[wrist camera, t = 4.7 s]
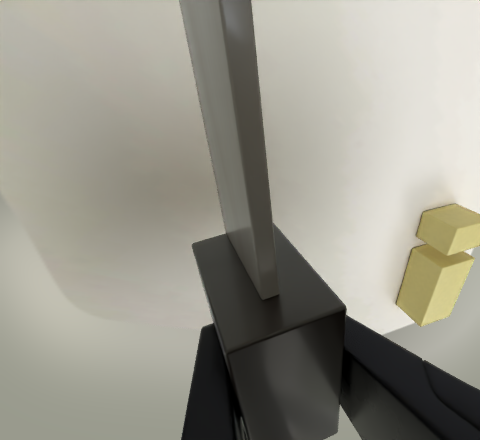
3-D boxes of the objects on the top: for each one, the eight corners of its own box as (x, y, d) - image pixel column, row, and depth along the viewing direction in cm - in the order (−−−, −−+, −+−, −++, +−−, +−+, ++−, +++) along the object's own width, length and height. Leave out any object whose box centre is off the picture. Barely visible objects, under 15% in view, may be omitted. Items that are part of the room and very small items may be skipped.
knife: (222, 353, 10) (257, 472, 7) (108, -48, 5) (57, -248, 2) (282, 330, 11) (338, 433, 8) (243, -60, 5) (389, -234, 2)
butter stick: (423, 295, 30) (449, 316, 27) (395, 304, 29) (420, 327, 26) (443, 239, 26) (475, 257, 24) (412, 248, 25) (442, 268, 23)
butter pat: (446, 228, 25) (480, 246, 23) (415, 236, 25) (447, 256, 22) (455, 203, 24) (492, 219, 22) (422, 211, 23) (457, 229, 21)
